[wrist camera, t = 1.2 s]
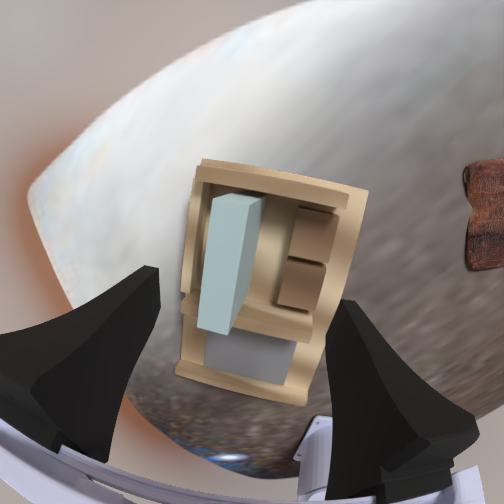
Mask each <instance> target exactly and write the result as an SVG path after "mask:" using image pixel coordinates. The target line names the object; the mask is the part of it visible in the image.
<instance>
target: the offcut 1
mask: <svg viewBox="0 0 504 504" xmlns="http://www.w3.org/2000/svg"><path fill="white" fill-rule="evenodd" d="M339 218H340V217H339V215H338V214H336V213H331V212H327V211H323V210H318V209H314V208H309V207H304V206H300V205H299V206H298V211H297V216H296V220H295V225H294V230H293V235H292V240H291V244H290V249H289V254H288V255H291V256H296V257H301V258H305V259H310V260H314V261H319V262H323V263H329V259H330V255H331V251H332V247H333V243H334V239H335V235H336V231H337V226H338V222H339Z"/></svg>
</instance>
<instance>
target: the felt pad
mask: <svg viewBox="0 0 504 504" xmlns="http://www.w3.org/2000/svg"><path fill="white" fill-rule="evenodd" d="M296 345H297V342H296V341H292V340H287V339H282V338H278V337H273V336H269V335H265V334H260V333H256V332H252V331H248V330H244V329H239V328H235V327H232V328H231V330H230V332H229V334H228V336H227V335H224V334H220V333H216V332H212V331H209V330H208V332H207V341H206V350H205V359H204V366H206V367H210V368H213V369H217V370H221V371H224V372H228V373H232V374H236V375H239V376H243V377H248V378H252V379H256V380H260V381H265V382H269V383H274V384H278V385H284V382H285V379H286V376H287V373H288V370H289V367H290V364H291V361H292V358H293V354H294V351H295V348H296Z"/></svg>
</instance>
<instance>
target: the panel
mask: <svg viewBox="0 0 504 504" xmlns="http://www.w3.org/2000/svg"><path fill="white" fill-rule="evenodd" d="M266 196H267V195H262V194H257V193H252V192H246V191H237V192H234V193H230V194H227V195H223V196H220V197H216V198H213V201H212V208H211V215H210V222H209V229H208V236H207V244H206V252H205V259H204V268H203V276H202V285H201V293H200V303H199V312H198V322H197V327H198V328H202V329H205V330H209V331H212V332H216V333H220V334H224V335H227V336H228V334H229V332H230V330H231V328H232V326H233V323H234V321H235V319H236V317H237V315H238V313H239V311H240V309H241V307H242V305H243V303H244V301H245V299H246V296H247V294H248V292H249V288H250V283H251V277H252V272H253V266H254V261H255V256H256V250H257V245H258V239H259V234H260V228H261V223H262V217H263V212H264V207H265V201H266Z"/></svg>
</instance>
